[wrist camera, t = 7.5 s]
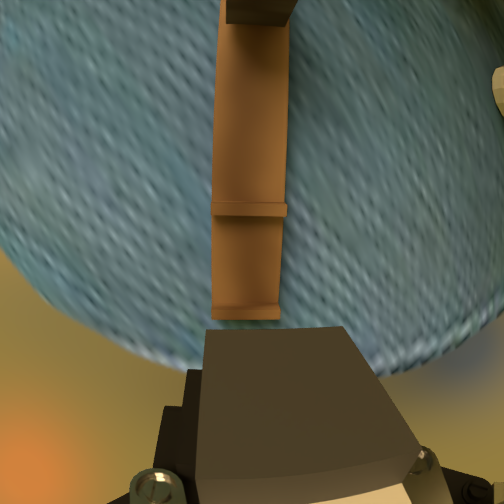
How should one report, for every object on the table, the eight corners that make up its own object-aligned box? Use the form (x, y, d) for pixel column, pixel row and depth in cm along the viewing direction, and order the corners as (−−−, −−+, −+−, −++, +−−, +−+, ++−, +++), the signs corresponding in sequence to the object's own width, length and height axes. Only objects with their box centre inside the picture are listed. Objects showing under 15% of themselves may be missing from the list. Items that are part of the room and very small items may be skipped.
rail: (284, -30, 18) (308, -92, 10) (273, 304, 26) (294, 368, 18) (224, -34, 18) (226, -99, 9) (213, 304, 26) (208, 370, 17)
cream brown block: (332, 311, 10) (444, 485, 3) (312, 423, 11) (360, 570, 5) (207, 313, 10) (193, 529, 3) (213, 427, 11) (214, 589, 4)
